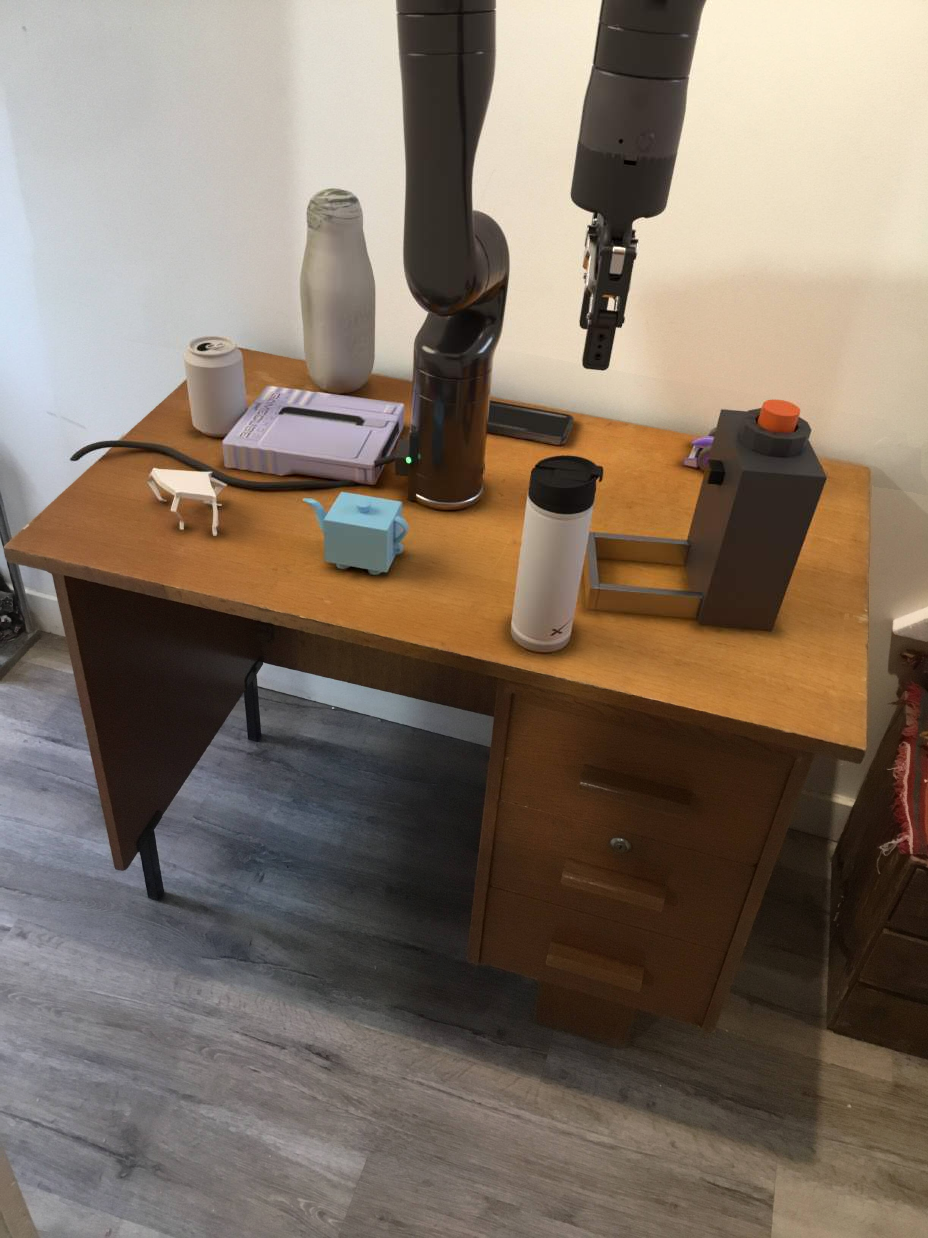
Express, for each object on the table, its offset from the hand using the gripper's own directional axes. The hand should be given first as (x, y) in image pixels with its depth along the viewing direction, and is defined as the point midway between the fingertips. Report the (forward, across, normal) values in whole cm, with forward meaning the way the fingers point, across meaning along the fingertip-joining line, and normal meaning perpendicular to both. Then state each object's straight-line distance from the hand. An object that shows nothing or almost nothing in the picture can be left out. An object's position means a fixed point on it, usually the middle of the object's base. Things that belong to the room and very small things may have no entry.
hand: (592, 347), depth 78 cm
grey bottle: (+31, -50, -31) cm, 67 cm away
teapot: (+30, -8, -22) cm, 38 cm away
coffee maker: (+30, -8, +20) cm, 37 cm away
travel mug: (+30, +3, 0) cm, 30 cm away
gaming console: (+31, -32, -31) cm, 54 cm away
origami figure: (+31, -13, -43) cm, 54 cm away
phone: (+30, -44, -4) cm, 53 cm away
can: (+31, -35, -45) cm, 65 cm away
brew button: (+9, -8, +20) cm, 23 cm away
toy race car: (+30, -37, +27) cm, 55 cm away
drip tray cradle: (+30, -7, +10) cm, 32 cm away
